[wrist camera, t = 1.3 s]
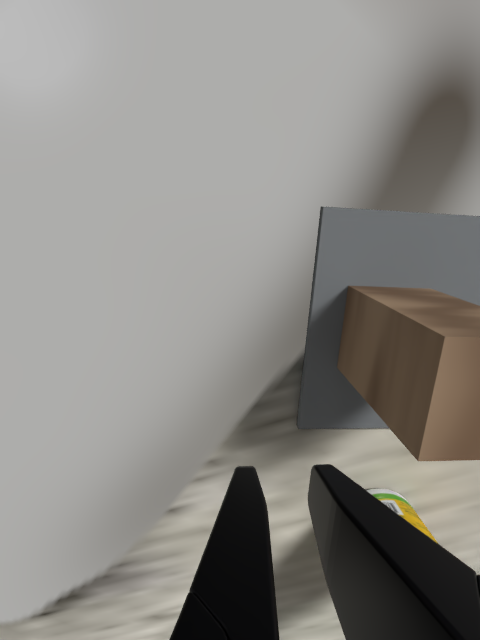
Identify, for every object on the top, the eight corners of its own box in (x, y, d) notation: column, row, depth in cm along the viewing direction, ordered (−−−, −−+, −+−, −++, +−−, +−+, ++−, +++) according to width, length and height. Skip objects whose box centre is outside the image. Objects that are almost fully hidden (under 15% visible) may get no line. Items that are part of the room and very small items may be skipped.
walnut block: (430, 288, 20) (574, 339, 12) (414, 368, 21) (536, 458, 14) (348, 285, 20) (444, 336, 12) (336, 367, 21) (418, 461, 13)
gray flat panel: (577, 222, 20) (584, 222, 20) (518, 423, 24) (523, 426, 23) (320, 206, 19) (323, 206, 18) (296, 425, 22) (298, 428, 22)
